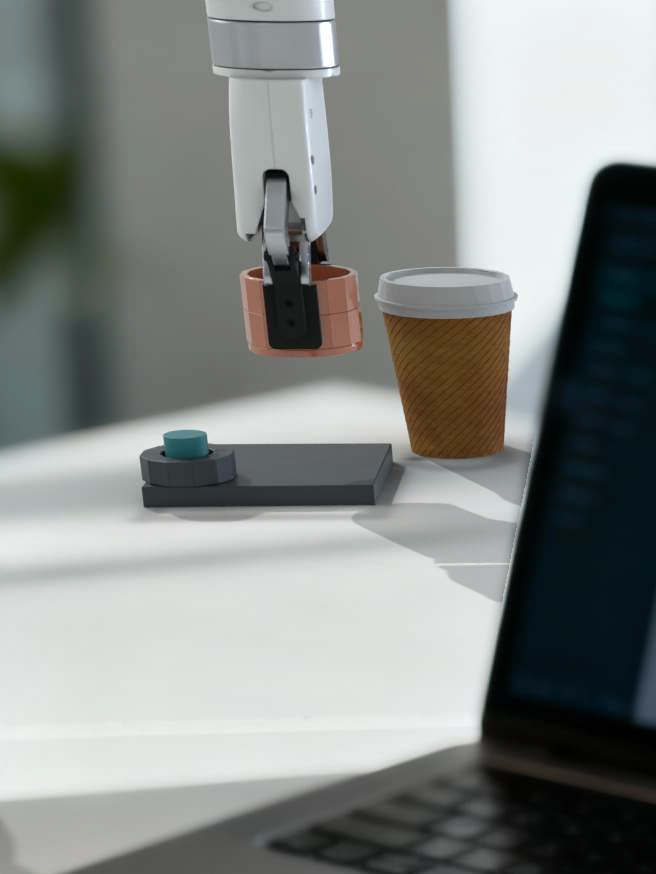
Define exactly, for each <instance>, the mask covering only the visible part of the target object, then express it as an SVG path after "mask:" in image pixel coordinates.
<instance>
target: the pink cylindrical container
mask: <svg viewBox="0 0 656 874" xmlns="http://www.w3.org/2000/svg"><path fill="white" fill-rule="evenodd" d="M324 264H325V263H321V264H311V284H317V291H318V301H319V311H320V321H321V331H322V341H323V343H322V345H321V347H320V348H319V349H273V348H271V347H270V345H269V341H268V332H267V323H266V313H265V304H264V295H263V286H262V285H263V284H264V280H263V265H262V266H256V267H251V268H248V269H245V270H242V271H240V273H239V284H240V292H241V301H242V303H241V304H242V312H243V319H244V328H245V336H246V342H247V346H248V350H249V351H250V353H251V352H252V353H254V354H256V355H261V356H265V357H274V358H288V359H292V358H293V359H309V358H312V359H313V358H326V357H335V356H342V355H347V354H351V353H354V352H358V351H361V350H362V349H363V348H364V327H363V318H362V317H363V316H362V306H361V296H360V295H361V294H360V284H359V283H360V282H359V273H358V271H357V270H355V269H354V268H352V267H349V266H348V267H347V266H343V265H335V264H332V265H324Z"/></svg>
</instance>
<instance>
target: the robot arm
mask: <svg viewBox="0 0 656 874" xmlns="http://www.w3.org/2000/svg"><path fill="white" fill-rule="evenodd" d="M204 1H205V11H206V17H207V18H206V20H207V21H206V22H207V31H208V39H209V46H210V47H209V48H210V56H211V63H212V66H211V67H212V73H213V75H216V76H220V77H227V78H228V122H229V140H230V141H229V142H230V152H231V153H230V155H231V165H232V179H233V180H232V181H233V192H234V193H233V195H234V206H235V219H236V232H237V235H238V236H239V237H240V239H242V240H243V241H244V242H252V241H253V240H254V239H256V237H257V236H258V235H260V233H261V253H262V254H261V255H262V256H261V257H262V266H263V280H264V284H263V285H262V286H263V295H264V304H265V313H266V323H267V332H268V341H269V345H270V347H271V348H273V349H319V348H320V347H321V345H322V343H323V341H322V331H321V321H320V311H319V301H318V291H317V284H311V264H324V265H333V263H330V251H329V250H330V249H329V245H328V240H327V239H328V238H327V233H326V231H327V229H328V228H329V226H330V225H331V224H332V222H333V218H334V195H333V194H334V193H333V178H332V176H333V175H332V163H331V153H330V152H331V150H330V140H329V129H328V120H327V112H326V111H327V110H326V101H325V93H324V84H323V79H324V78H326V79H327V78H332V77H339V76H340V75H341V66H340V57H339V56H340V54H339V44H338V33H337V24H336V23H337V22H336V13H335V3H334V0H204Z"/></svg>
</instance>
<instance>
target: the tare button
mask: <svg viewBox="0 0 656 874" xmlns="http://www.w3.org/2000/svg"><path fill="white" fill-rule="evenodd" d="M162 438H163V445H164V448H165V456H166V457H169V458H196V457H204V456H207V455H209V448H208V443H209V440H208V433H207V432H206V431H203V430H200V429H178V430H176V429H175V430H171V431H167V432H165V433H163V434H162Z"/></svg>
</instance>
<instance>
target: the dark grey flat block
mask: <svg viewBox="0 0 656 874" xmlns="http://www.w3.org/2000/svg"><path fill="white" fill-rule="evenodd" d="M208 448H209V455H207V456H204V457H196V458H169V457H166V456H165V448H164V444H163V445H157V446H154V447H150V448H146V449H144V450H143V451H142V452H141V453H140V454H139V456H138V458H139V463H140V472H141V479H142V481H143V482H144V484H143V485H142V486H141V496H142V504H143V508H208V507H209V508H210V507H211V508H220V507H222V508H226V507H227V508H228V507H229V508H231V507H234V508H235V507H322V506H323V507H324V506H325V507H327V506H328V507H329V506H330V507H331V506H332V507H333V506H334V507H335V506H337V507H339V506H340V507H341V506H344V507H345V506H376V504H377V502H378V500H379V497H380V495H381V492H382V491H383V488H384V485H385V483H386V480H387V478H388V475H389V473H390V471H391V469H392V466H393V464H394V457H393V445H392V443H390V442H389V443H388V442H386V443H383V442H381V443H376V442H375V443H372V442H371V443H367V442H365V443H362V442H361V443H358V442H357V443H209V442H208Z"/></svg>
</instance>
